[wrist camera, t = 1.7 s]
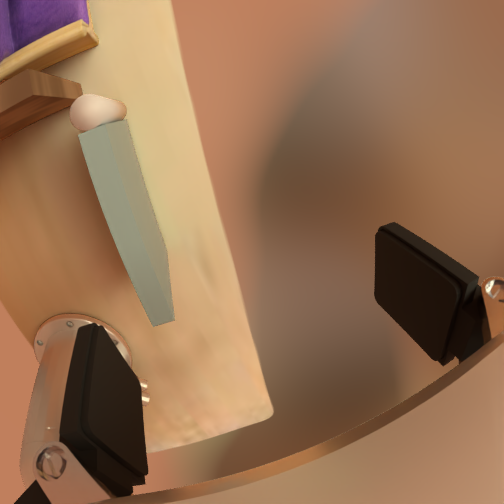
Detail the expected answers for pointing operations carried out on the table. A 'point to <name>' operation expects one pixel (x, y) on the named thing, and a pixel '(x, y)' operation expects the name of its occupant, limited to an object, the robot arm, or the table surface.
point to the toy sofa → (42, 33)
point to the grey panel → (125, 200)
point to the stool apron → (33, 99)
